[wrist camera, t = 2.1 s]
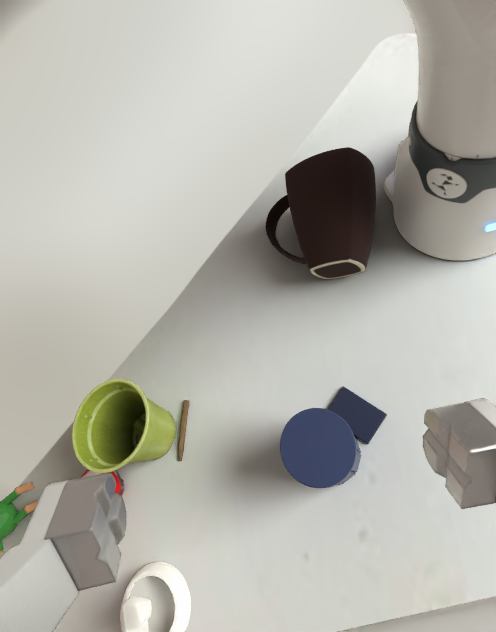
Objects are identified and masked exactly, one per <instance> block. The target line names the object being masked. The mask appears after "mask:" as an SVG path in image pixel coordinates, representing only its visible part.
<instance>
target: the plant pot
mask: <svg viewBox="0 0 496 632" xmlns="http://www.w3.org/2000/svg"><path fill="white" fill-rule="evenodd" d="M137 435H138V437H139V444H138V445H137V441H136V436H137ZM175 435H176V426H175V421H174V419H173V417H172V415H171V414H170V413H169V412H168V411H166V410H165V409H163V408H162V407H160V406H158V405H157V404H155V403H154V402H152V401H150V400H149V399H147V398H146V396H145V394H144V393H143V391H142V390H141V389H140V388H139V387H138V386H137V385H136V384H134V383H132V382H130V381H128V380H124V379H113V380H109V381H106V382H104V383H102V384H101V385H99V386H97V387H96V388H95V389H93V391H91V392H90V393H89V394H88V395H87V397H86V398H85V399H84V401H83V402H82V404H81V405H80V407H79V409H78V411H77V414H76V417H75V420H74V424H73V429H72V444H73V449H74V451H75V454H76V457H77V459H78V460H79V462H80V463H81V464H82V465H83V466H84V467H85V468H87V469H88V470H90V471H93V472H96V473H108V472H112V471H115V470H118V469H119V468H121V467H123V466H124V465H126V464H128V463H134V462H141V461H149V460H155V459H158V458H160V457H162V456H163V455H165V454H166V453H167V452H168V451H169V449H170V447H171V444H172V442H173V440H174V439H175Z"/></svg>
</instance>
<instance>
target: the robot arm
mask: <svg viewBox="0 0 496 632" xmlns="http://www.w3.org/2000/svg"><path fill="white" fill-rule="evenodd" d="M403 1H404V3H405V5H406V6H407V9H408V11H409V13H410V16H411V18H412V21H413V24H414V26H415V30H416V35H417V41H418V61H419V83H418V100H417V102H416V104H415V106H414V109H413V112H412V118H411V122H410V125H409V136H408V137H407V138H406V139H405V140H404V141H401V142H400V144H399V147H398V152H397V159H396V166H395V170H394V171H393V172H392V173H391V174H390V175H389V176H388V177H387V178H386V179H385V183H384V190H385V192H386V194H387V196H388V197H389V199H390V200H391V201H392V204H393V211H394V220H395V223H396V226H397V228H398V230H399V232H400V234H401V235H402V236H403V238H404V239H405V240H406V241H407V242H408V243H409V244H410V245H412V246H413V247H414V248H416V249H418V250H419V251H421V252H423V253H425V254H428V255H430V256H433V257H437V258H441V259H446V260H473V259H479V258H483V257H486V256H490V255H492V254H495V253H496V0H403ZM424 423H425V424H426V426H427V427H428V428H429V429H428V430H427V431H426V433H425V434H424V435H423V448H424V452H425V455H426V458H427V460H428V462H429V464H430V466H431V467H432V468H433V470H434V471H435V473H437V474H439V475H441V476H443V477H445V478H446V485H445V487H446V488H447V490H448V491H449V492H450V494H451V495H452V496H453V498H454V499H455V501H456V502H457V503H458V505H459V506H460V507H461V509H465V508H470V507H476V506H482V505H487V504H493V503H496V406H495V405H494V404H493V403H492V402H490V401H489V400H487V399H485V398H481V399H476V400H472V401H467V402H464V403H458V404H454V405H449V406H444V407H439V408H434V409H429V410H427V411H426V413H425V415H424ZM116 484H117V483H116V481H115V478H114V476H113V474H111V473H105V474H99V475H94V476H88V477H82V478H76V479H70V480H68V481H62V482H56V483H49V484H48V485H47V486H46V487H45V488H44V490H43V492H42V494H41V497H40V499H39V501H38V503H37V505H36V508H35V510H34V512H33V514H32V517H31V519H30V521H29V523H28V526H27V528H26V530H25V532H24V535H23V537H22V539H21V541H20V544H19V545H17V546H12V547H11V548H10V549H9V550H8V551H7V552H6V553H5V554H4V555H3V556H2V557H1V558H0V632H53V631H54V629H55V628H56V626H57V625H58V623H59V622H60V620H61V619H62V618H63V616H64V615H65V613H66V612H67V610H68V609H69V607H70V606H71V604H72V603H73V601H74V600H75V598H76V597H77V595H78V594H79V591H80V590H84V589H88V588H92V587H97V586H101V585H105V584H109V583H113V582H116V578H117V573H118V568H119V563H120V557H121V552H120V550H119V547H118V544H119V542H120V541H121V540H122V539H123V537H124V536H125V530H126V509H125V504H124V501H123V498H122V496H121V495H119V494H117V493H116V492H115V489H116ZM338 632H496V596H495V597H491V598H486V599H482V600H477V601H473V602H468V603H464V604H459V605H455V606H450V607H446V608H441V609H437V610H432V611H428V612H423V613H419V614H414V615H410V616H405V617H401V618H396V619H392V620H387V621H383V622H378V623H374V624H369V625H365V626H360V627H356V628H351V629H347V630H343V631H338Z"/></svg>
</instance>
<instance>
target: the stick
mask: <svg viewBox="0 0 496 632" xmlns="http://www.w3.org/2000/svg"><path fill="white" fill-rule="evenodd" d="M188 408H189V401H188V400H184V406H183V411H182V418H181V428H180V439H179V446H178V449H179V450H178V461H182V455H183V450H184V439H185V431H186V422H187V415H188Z"/></svg>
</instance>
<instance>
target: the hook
mask: <svg viewBox="0 0 496 632" xmlns="http://www.w3.org/2000/svg"><path fill="white" fill-rule="evenodd" d="M147 576H155V577H158V578H160V579H162V580H163V581H164V582H165V583H166V584H167V585H168V587H169V588H170V590H171V592H172V595H173V599H174V605H175V615H174V620H173V623H172V626H171V628H170V630H169V632H185V630H186V628H187V625H188V622H189V618H190V613H191V599H190V593H189V589H188V586H187V583H186V581H185V579H184V578H183V576H182V575H181V573H180V572H179V571H178V570H177V569H176V568H175V567H173V566H172V565H170V564H167V563H164V562H153V563H150V564H148V565H145V566H144V567H143V568H141V569H140V570H139V571H138V572H137V573H136V574H135V576H134V577H133V578H132V580H131V581H130V583H129V585H128V587H127V589H126V592H125V594H124V598H123V602H122V607H121V611H120V623H121V631H122V632H149V627H148V620H147V619H148V618H149V617H150V616H151V611H152V604H151V601H150V600H149V599H146V598H140V597H131V598H129V597H130V593H131V590H132V588H133V586H134V585H135V583H136V582H137V581H138V580H140V579H141V578H143V577H147Z"/></svg>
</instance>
